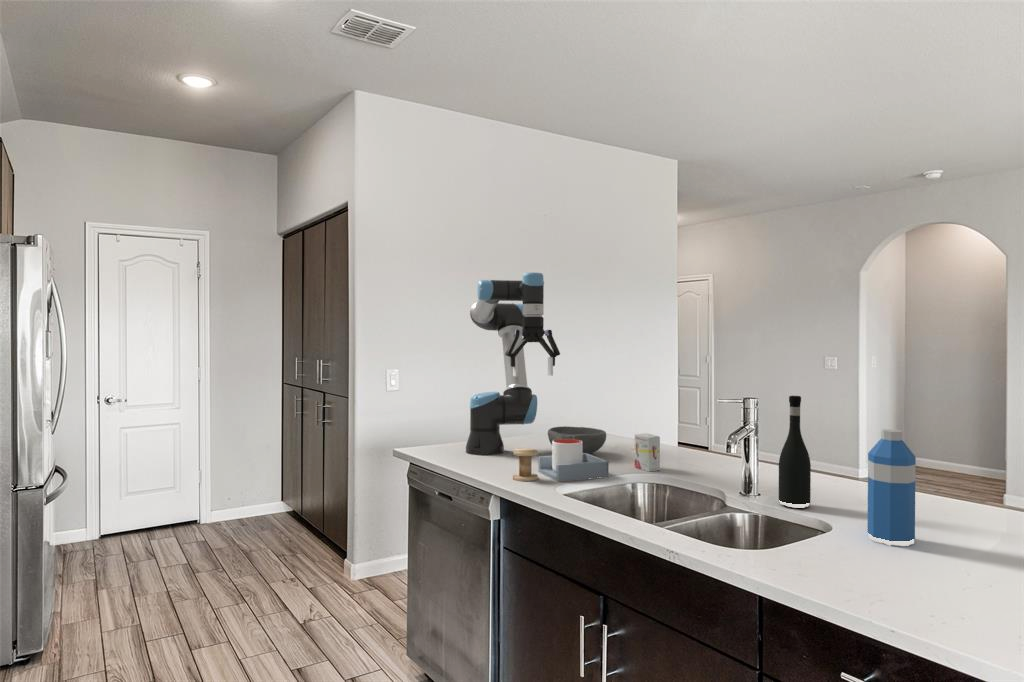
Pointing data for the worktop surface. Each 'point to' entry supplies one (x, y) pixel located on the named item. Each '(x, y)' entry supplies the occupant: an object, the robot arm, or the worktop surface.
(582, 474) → the notch board
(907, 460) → the water bottle
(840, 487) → the worktop surface
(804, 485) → the wine bottle
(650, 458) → the ink box
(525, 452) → the bobbin
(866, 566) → the worktop surface
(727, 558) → the worktop surface
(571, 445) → the cup
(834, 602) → the worktop surface
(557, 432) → the bowl
